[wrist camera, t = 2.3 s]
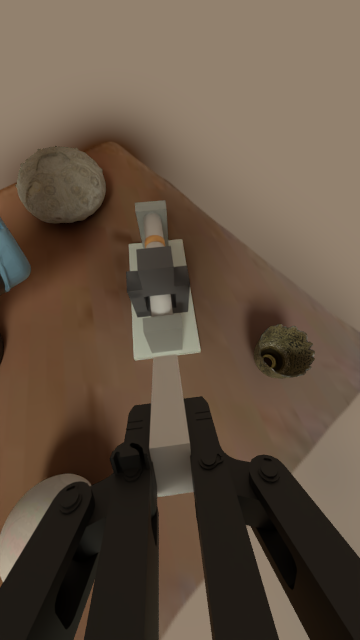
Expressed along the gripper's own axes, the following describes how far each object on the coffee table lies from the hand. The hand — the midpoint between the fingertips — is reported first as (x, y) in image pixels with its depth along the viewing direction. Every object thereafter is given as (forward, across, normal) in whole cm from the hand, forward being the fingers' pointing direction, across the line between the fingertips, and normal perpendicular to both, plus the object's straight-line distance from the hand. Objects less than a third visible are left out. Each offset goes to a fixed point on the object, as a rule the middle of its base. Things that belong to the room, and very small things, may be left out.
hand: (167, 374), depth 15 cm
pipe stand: (+30, 0, -2) cm, 30 cm away
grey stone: (+49, -19, +16) cm, 54 cm away
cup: (+19, +16, -13) cm, 28 cm away
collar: (+23, 0, -3) cm, 23 cm away
